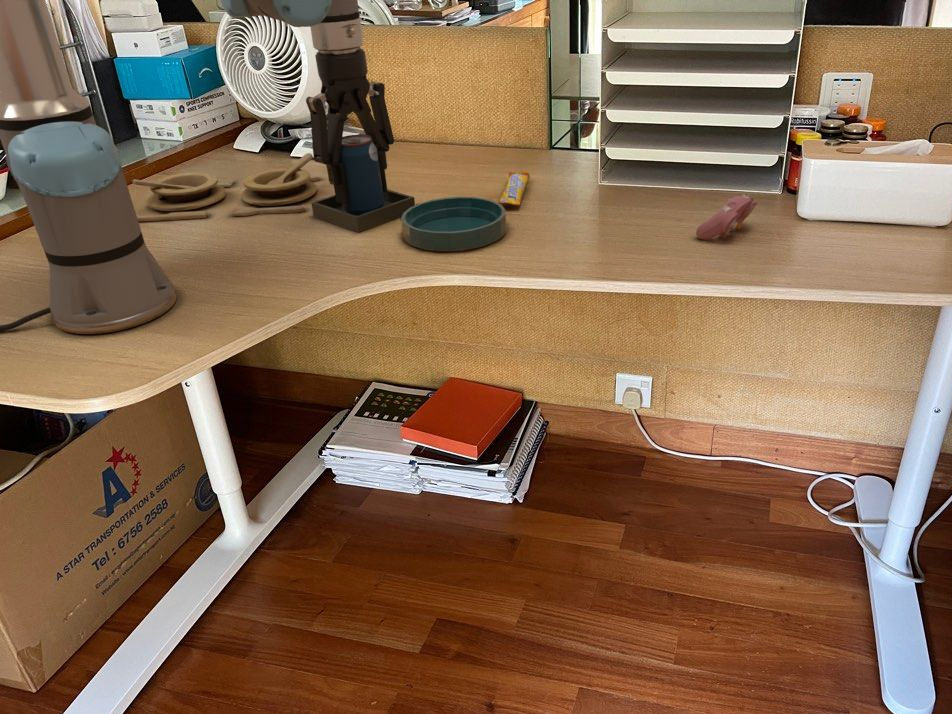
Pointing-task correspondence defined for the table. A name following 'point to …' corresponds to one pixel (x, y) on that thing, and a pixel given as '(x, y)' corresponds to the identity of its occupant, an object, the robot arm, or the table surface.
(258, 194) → the tableware set
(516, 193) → the candy bar
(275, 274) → the table surface
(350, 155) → the soda can
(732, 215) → the mauve toy shoe
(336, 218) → the tray
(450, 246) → the teal round dish
